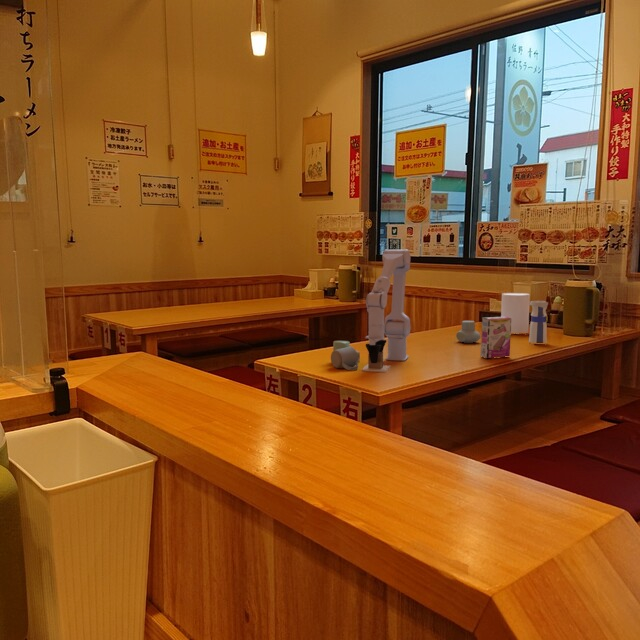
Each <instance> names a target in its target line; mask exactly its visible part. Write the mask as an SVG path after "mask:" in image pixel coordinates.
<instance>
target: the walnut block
mask: <svg viewBox="0 0 640 640" xmlns="http://www.w3.org/2000/svg"><path fill="white" fill-rule="evenodd" d="M367 355H368V356H367V357H368V360H367V361H368V363H367V364H368V368H372V369H381V368H382V367H383V365H384V351H383V352H379V354H378V361H377V363H371V361H370V356H369V353H368V354H367Z"/></svg>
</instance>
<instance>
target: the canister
mask: <svg viewBox="0 0 640 640" xmlns="http://www.w3.org/2000/svg"><path fill="white" fill-rule="evenodd" d="M530 299H531V298H530V293H524V292H506V293H505V292H504V293H501V308H500V309H501V310H500V313H501V314H500V317H509V318H511V333H514V334H515V333H516V334H519V333H528V334H529V328H530V324H529V323H530V322H529V321H530Z"/></svg>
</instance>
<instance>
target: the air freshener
mask: <svg viewBox="0 0 640 640" xmlns="http://www.w3.org/2000/svg"><path fill="white" fill-rule="evenodd" d="M455 336H456V337H455V338H456V339H457V341H459V342H461V343H462V342H464V343H463V344H474V343H473V342H475V343H476V342H478V341H479V340H481V339H480V338H481V334H480V332H478V331H477V330H476V321H474V320H462V321H461V330H459V331H457V332H456V335H455Z"/></svg>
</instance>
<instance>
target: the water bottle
mask: <svg viewBox="0 0 640 640" xmlns="http://www.w3.org/2000/svg"><path fill="white" fill-rule="evenodd" d="M547 293H548V295H550V291H548V292H547ZM548 305H549V302H547V301H545V300H531V301H529V306H531V307H532V310H531V313H530V316H531V319H530V320H531V321H530V324H529V336H528V337H529V338H528V339H529V340H528V343H529V342H531V343H547V342H548V341H547V331H548V330H547V328H548V327H547V322H548V318H549V317H548V314H547V311H546V310H547V309H548ZM547 344H548V343H547Z"/></svg>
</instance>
